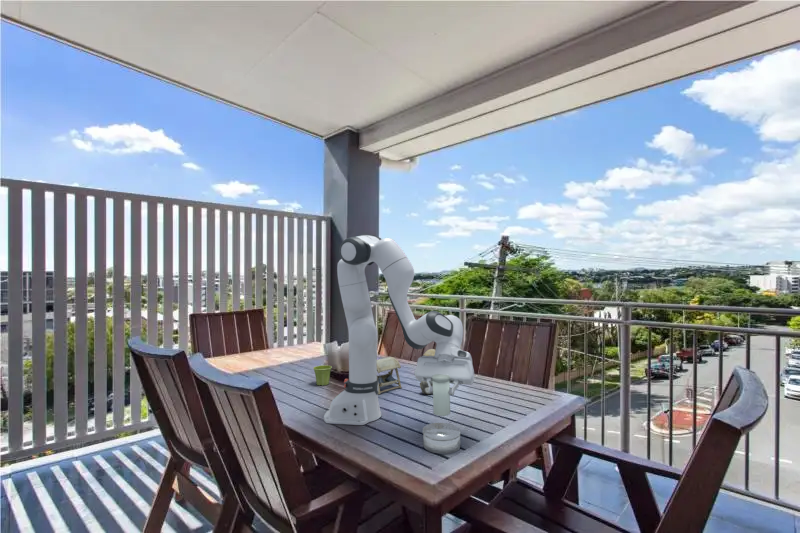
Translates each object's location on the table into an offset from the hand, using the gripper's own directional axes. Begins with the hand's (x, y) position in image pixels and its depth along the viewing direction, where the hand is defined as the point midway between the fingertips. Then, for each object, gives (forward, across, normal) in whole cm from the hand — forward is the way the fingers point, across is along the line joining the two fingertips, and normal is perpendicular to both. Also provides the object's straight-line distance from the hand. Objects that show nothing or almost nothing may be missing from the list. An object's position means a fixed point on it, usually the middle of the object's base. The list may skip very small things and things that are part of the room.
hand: (440, 393), depth 122 cm
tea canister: (+4, 0, +5) cm, 7 cm away
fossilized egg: (-43, -25, +68) cm, 84 cm away
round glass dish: (+12, 0, +12) cm, 17 cm away
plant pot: (-22, -75, +46) cm, 90 cm away
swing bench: (-23, -41, +47) cm, 67 cm away
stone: (-25, -17, +50) cm, 58 cm away
